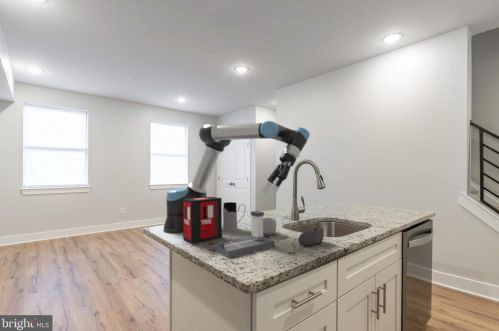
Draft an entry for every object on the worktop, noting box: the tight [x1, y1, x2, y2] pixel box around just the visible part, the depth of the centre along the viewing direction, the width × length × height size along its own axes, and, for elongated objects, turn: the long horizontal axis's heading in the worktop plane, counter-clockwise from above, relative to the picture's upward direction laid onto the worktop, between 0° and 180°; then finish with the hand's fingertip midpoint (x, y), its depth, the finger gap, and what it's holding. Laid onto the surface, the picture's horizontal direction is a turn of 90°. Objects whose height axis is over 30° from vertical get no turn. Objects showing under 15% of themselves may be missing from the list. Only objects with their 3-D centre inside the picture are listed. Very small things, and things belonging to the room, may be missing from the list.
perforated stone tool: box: [297, 227, 324, 247], centre depth 112 cm, size 15×5×7 cm, turn 119°
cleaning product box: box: [182, 196, 223, 245], centre depth 122 cm, size 16×9×20 cm, turn 129°
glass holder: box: [222, 201, 246, 232], centre depth 143 cm, size 9×14×15 cm, turn 117°
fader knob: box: [250, 210, 265, 241], centre depth 112 cm, size 5×4×12 cm
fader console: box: [213, 232, 276, 258], centre depth 108 cm, size 12×24×4 cm, turn 125°
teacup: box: [263, 216, 277, 236], centre depth 132 cm, size 14×11×8 cm
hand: (267, 193), depth 114 cm, fingers open, 13 cm apart
